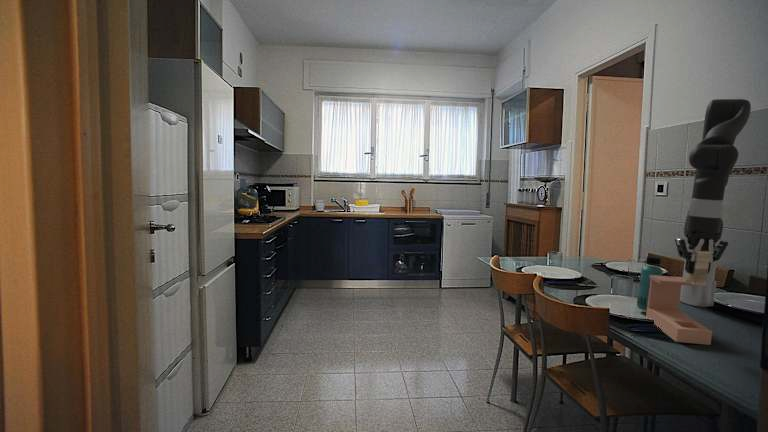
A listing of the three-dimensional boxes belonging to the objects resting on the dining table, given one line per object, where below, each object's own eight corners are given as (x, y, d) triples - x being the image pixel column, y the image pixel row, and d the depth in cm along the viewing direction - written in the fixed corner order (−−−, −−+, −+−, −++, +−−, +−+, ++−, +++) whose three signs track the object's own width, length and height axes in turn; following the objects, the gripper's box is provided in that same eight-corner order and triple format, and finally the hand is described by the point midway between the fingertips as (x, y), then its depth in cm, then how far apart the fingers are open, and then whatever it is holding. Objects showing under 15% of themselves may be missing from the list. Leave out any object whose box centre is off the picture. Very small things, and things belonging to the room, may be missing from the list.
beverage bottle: (654, 310, 141) (661, 255, 138) (660, 317, 135) (668, 259, 132) (633, 308, 143) (640, 253, 140) (638, 314, 137) (645, 257, 134)
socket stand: (676, 321, 132) (682, 277, 130) (712, 345, 114) (719, 294, 112) (644, 318, 134) (649, 274, 132) (674, 341, 116) (681, 291, 114)
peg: (705, 285, 115) (710, 251, 114) (693, 285, 115) (698, 251, 114) (697, 282, 119) (701, 249, 117) (685, 281, 119) (689, 248, 118)
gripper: (688, 215, 111) (680, 275, 113) (741, 217, 110) (732, 278, 113) (670, 212, 119) (663, 269, 121) (720, 214, 118) (712, 271, 120)
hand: (696, 273), depth 117 cm, fingers closed on peg, 3 cm apart
